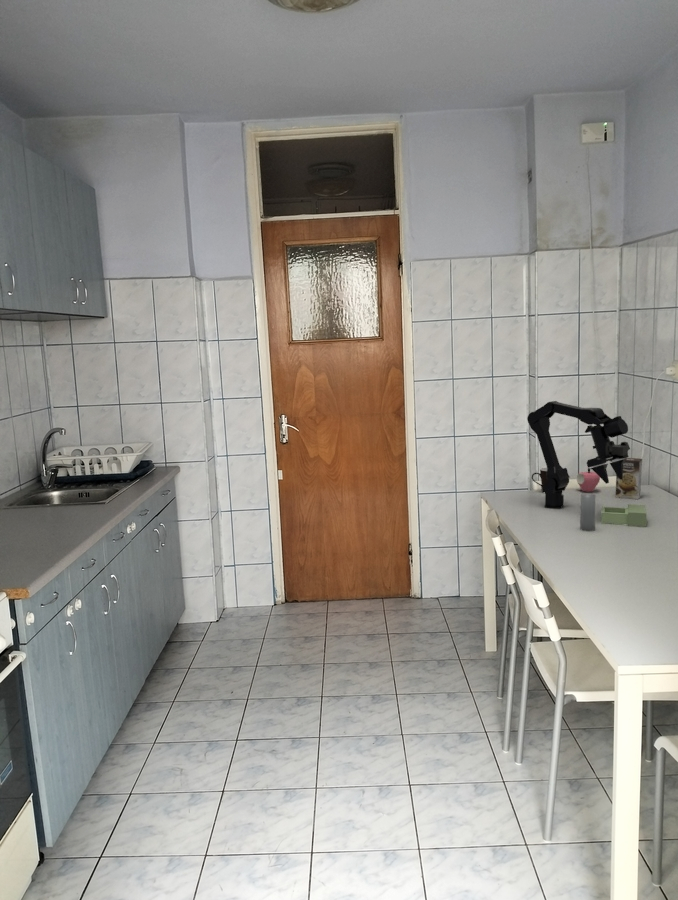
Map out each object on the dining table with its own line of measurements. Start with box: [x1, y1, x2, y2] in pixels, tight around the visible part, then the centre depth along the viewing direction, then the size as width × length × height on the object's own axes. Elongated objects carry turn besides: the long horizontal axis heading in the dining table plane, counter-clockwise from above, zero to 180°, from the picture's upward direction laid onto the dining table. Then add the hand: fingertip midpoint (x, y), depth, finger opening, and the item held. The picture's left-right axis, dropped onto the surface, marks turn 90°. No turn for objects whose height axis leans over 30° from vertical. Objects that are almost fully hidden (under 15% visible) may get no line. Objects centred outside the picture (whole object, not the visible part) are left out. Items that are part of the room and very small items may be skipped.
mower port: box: [600, 504, 647, 528], centre depth 269 cm, size 15×12×5 cm
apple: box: [576, 467, 601, 493], centre depth 316 cm, size 10×9×10 cm
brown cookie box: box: [615, 457, 643, 500], centre depth 303 cm, size 9×6×16 cm
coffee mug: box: [531, 467, 547, 487], centre depth 318 cm, size 12×9×10 cm
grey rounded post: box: [579, 492, 596, 532], centre depth 260 cm, size 5×5×12 cm
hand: (614, 481), depth 271 cm, fingers open, 9 cm apart
